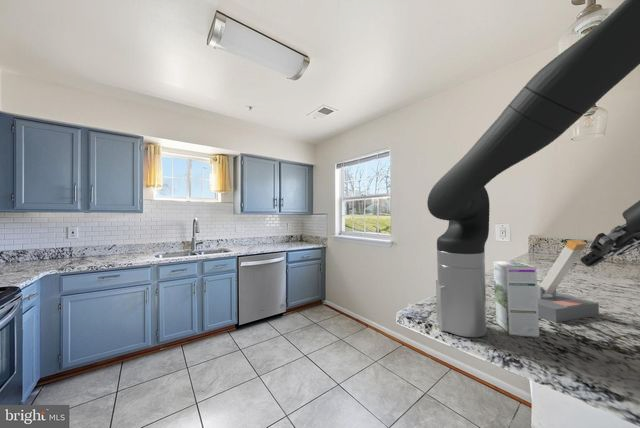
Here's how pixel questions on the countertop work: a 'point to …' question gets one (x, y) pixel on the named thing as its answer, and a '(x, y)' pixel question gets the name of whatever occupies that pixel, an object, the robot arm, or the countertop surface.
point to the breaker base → (564, 307)
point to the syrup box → (516, 298)
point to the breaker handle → (562, 265)
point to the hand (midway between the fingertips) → (586, 263)
